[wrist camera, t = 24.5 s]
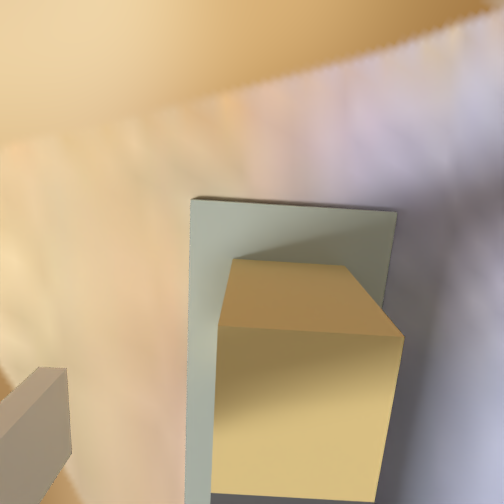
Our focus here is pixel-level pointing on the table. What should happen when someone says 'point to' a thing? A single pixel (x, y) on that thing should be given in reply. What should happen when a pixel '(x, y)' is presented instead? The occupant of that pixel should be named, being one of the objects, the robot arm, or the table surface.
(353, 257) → the mat
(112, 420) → the table surface
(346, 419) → the two-tone upright block
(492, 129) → the table surface
